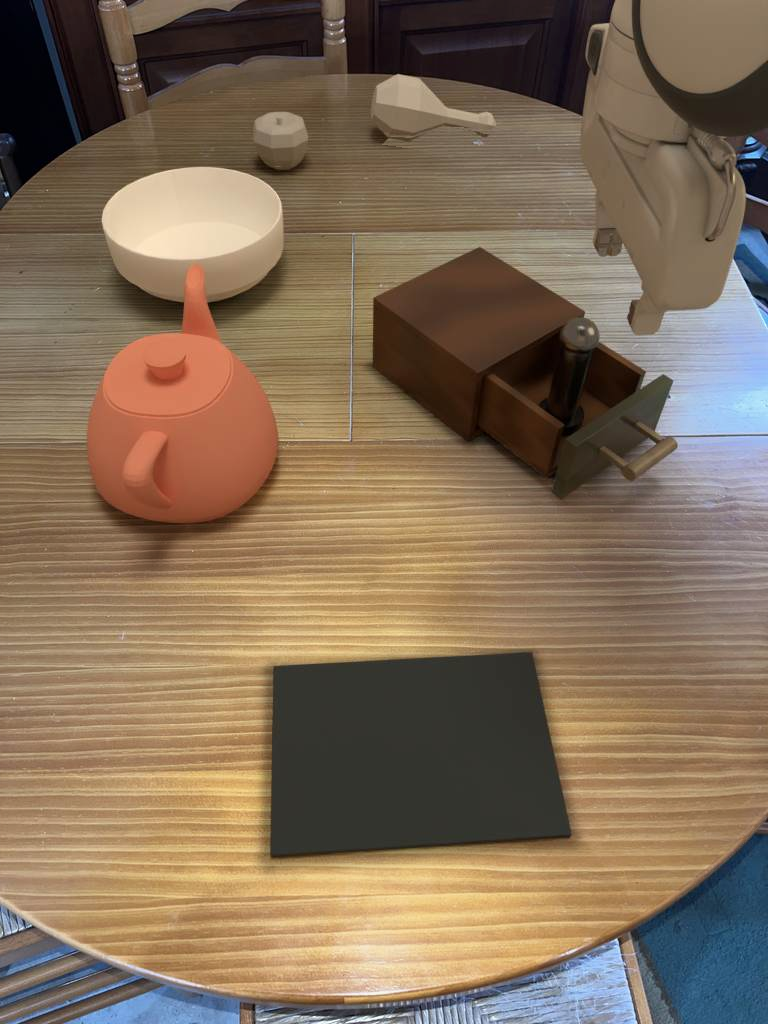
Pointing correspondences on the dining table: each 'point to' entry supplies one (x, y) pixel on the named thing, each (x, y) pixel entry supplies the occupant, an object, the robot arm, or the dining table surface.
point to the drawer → (606, 425)
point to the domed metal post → (571, 373)
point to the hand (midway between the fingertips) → (622, 287)
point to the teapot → (181, 423)
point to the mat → (411, 755)
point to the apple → (280, 139)
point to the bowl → (195, 231)
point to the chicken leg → (418, 110)
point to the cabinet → (461, 331)
